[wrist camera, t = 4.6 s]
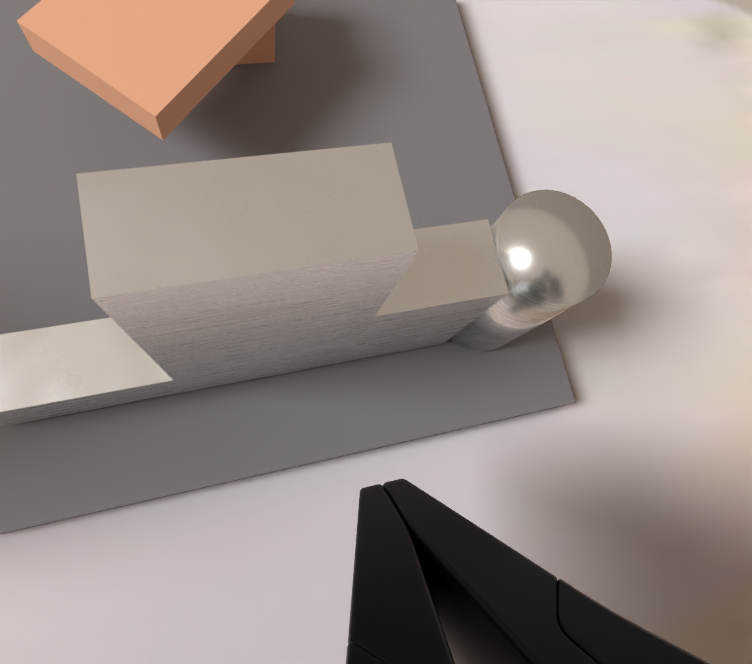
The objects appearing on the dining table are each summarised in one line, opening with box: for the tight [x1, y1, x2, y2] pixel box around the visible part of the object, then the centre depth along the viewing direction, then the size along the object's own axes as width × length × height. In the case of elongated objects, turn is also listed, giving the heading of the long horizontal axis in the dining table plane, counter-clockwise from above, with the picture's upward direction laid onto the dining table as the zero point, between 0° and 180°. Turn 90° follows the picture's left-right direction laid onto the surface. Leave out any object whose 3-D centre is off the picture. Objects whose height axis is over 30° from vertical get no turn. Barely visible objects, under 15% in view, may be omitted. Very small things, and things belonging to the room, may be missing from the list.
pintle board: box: [0, 0, 575, 534], centre depth 16 cm, size 16×17×5 cm
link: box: [0, 143, 612, 426], centre depth 12 cm, size 3×15×8 cm, turn 103°
